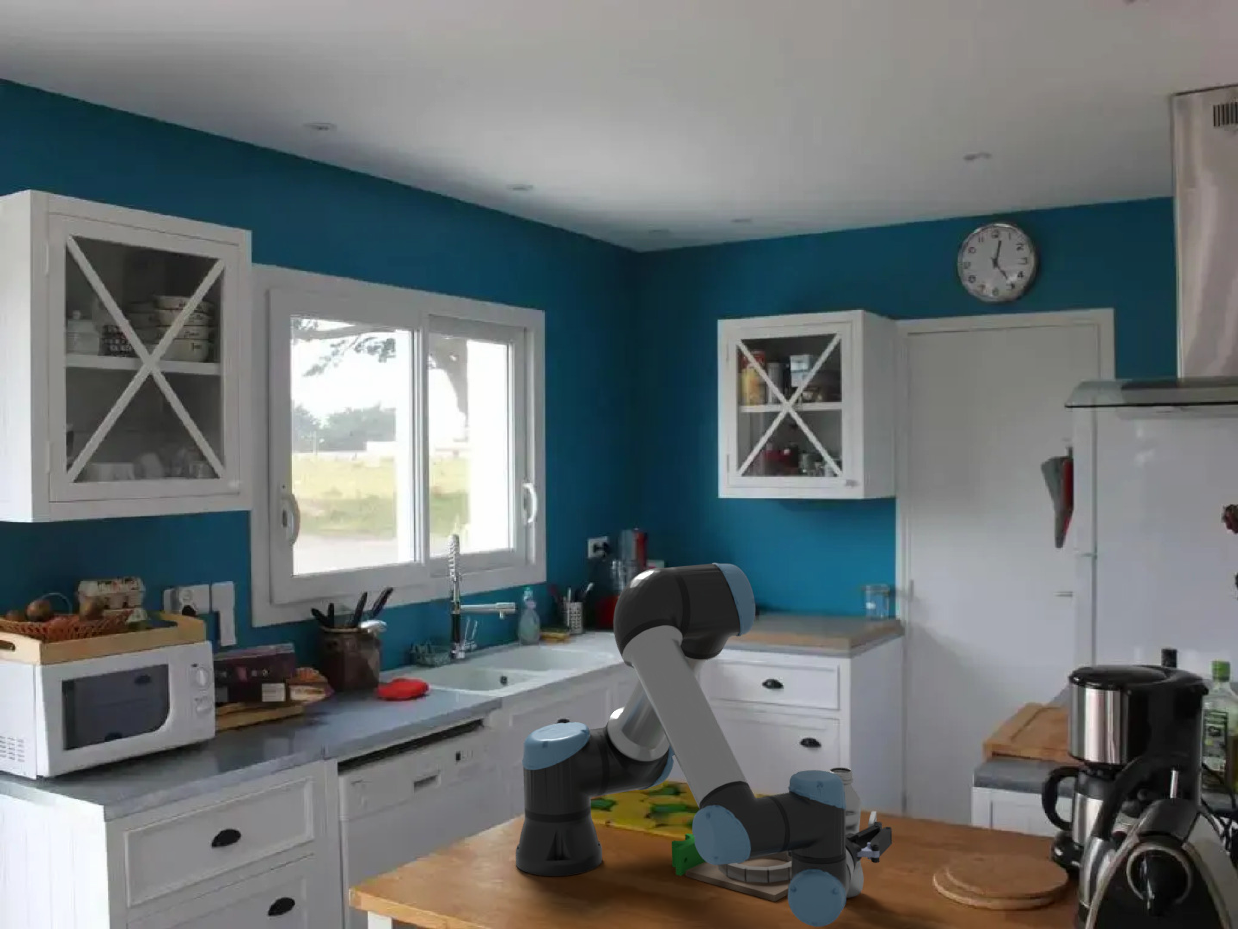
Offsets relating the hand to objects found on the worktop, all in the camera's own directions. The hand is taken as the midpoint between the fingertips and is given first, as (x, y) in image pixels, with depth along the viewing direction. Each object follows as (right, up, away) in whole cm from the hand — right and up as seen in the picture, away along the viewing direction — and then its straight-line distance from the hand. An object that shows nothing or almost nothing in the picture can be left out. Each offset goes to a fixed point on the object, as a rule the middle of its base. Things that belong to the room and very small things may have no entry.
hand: (845, 817), depth 197 cm
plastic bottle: (-1, -11, -4) cm, 12 cm away
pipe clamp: (-25, -12, +12) cm, 30 cm away
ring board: (-13, -11, +6) cm, 18 cm away
